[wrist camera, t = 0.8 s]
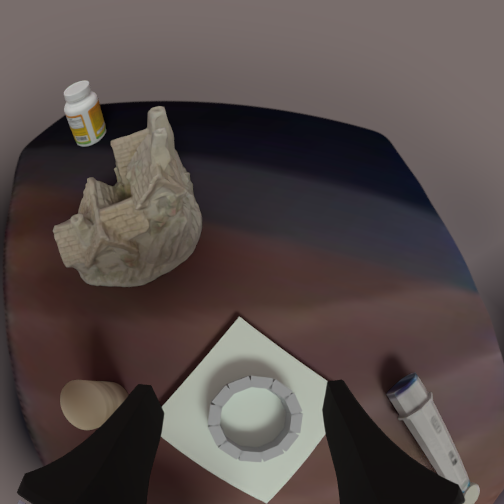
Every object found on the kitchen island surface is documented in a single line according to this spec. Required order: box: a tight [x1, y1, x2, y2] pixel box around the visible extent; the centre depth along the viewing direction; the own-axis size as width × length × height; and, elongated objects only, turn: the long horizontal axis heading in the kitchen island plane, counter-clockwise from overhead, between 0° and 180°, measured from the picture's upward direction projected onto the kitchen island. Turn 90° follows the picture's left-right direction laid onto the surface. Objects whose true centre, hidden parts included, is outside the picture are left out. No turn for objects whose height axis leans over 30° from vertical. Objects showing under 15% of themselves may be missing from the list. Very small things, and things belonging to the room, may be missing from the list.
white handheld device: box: [387, 372, 480, 504], centre depth 19 cm, size 5×7×25 cm
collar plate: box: [161, 317, 328, 503], centre depth 22 cm, size 14×14×3 cm
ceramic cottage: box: [53, 106, 202, 287], centre depth 24 cm, size 16×16×15 cm
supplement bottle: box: [64, 81, 106, 147], centre depth 31 cm, size 5×5×10 cm
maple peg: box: [60, 380, 129, 430], centre depth 18 cm, size 4×4×7 cm
